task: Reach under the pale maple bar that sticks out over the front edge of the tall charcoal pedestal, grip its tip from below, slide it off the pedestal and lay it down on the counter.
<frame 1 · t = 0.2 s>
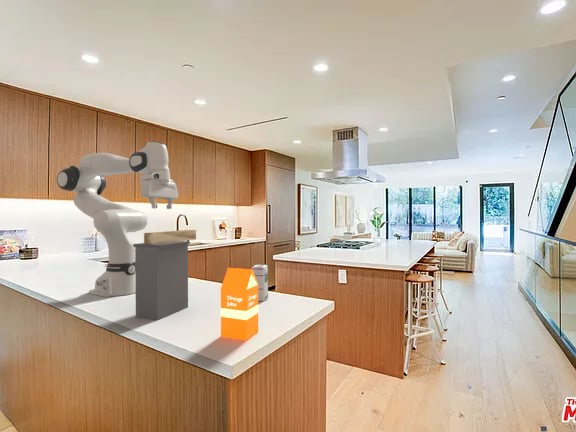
hand: (162, 208, 140), 39 cm above the table, tool pointing down, fingers open, 8 cm apart
pedestal: (163, 311, 118), on the table
orange juice: (239, 334, 96), on the table
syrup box: (259, 299, 136), on the table
maple bar: (172, 241, 123), point 26 cm above the table, touching pedestal
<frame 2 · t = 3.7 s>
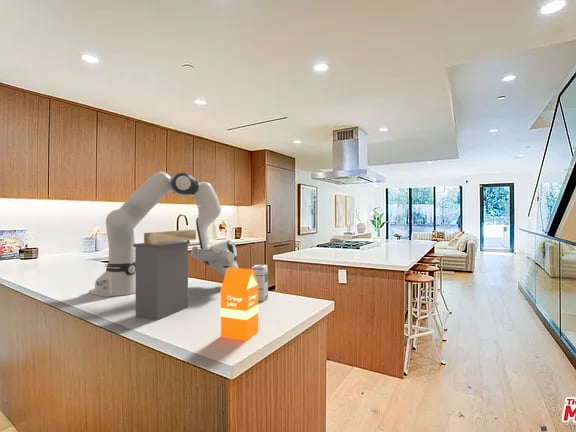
hand: (202, 248, 141), 22 cm above the table, tool pointing upward, fingers open, 8 cm apart
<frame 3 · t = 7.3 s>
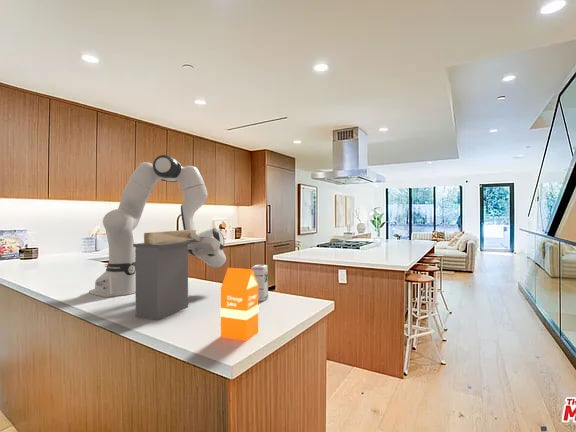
hand: (184, 234, 130), 28 cm above the table, tool pointing upward, fingers closed on maple bar, 4 cm apart
maple bar: (172, 241, 123), point 26 cm above the table, touching gripper, pedestal
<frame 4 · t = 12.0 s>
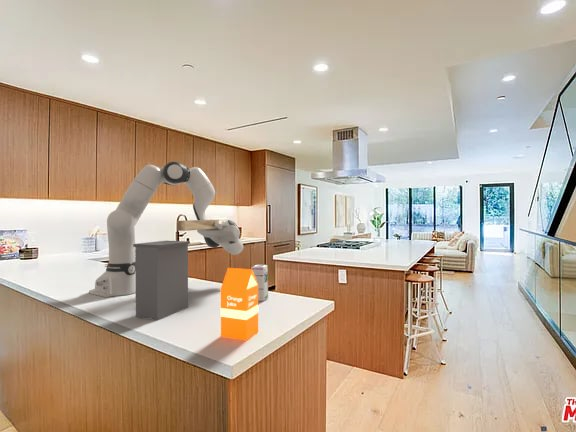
hand: (209, 223, 145), 33 cm above the table, tool pointing upward, fingers closed on maple bar, 4 cm apart
maple bar: (199, 229, 139), point 30 cm above the table, touching gripper
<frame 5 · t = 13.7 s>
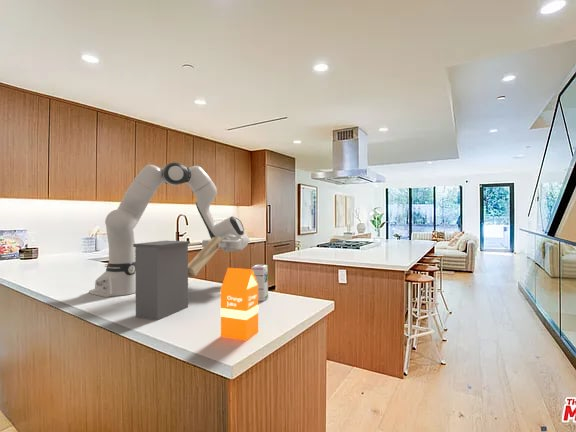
hand: (212, 245, 148), 22 cm above the table, tool horizontal, fingers closed on maple bar, 4 cm apart
maple bar: (206, 258, 143), point 16 cm above the table, tilted 30°, touching gripper
when the fingers open (12 cm above the table, at t = 16.5 s): maple bar drops 7 cm, on the table.
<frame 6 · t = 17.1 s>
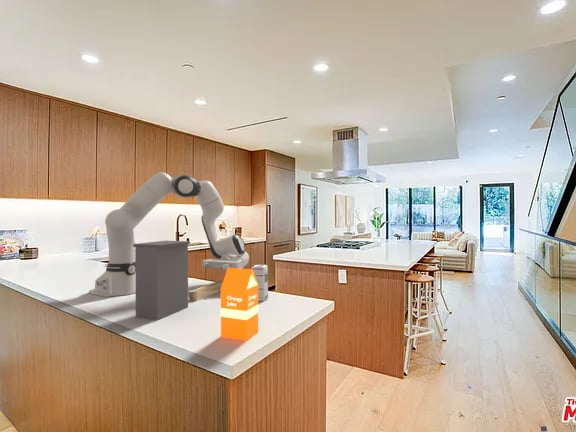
hand: (213, 266, 148), 12 cm above the table, tool horizontal, fingers open, 8 cm apart
maple bar: (209, 294, 145), on the table
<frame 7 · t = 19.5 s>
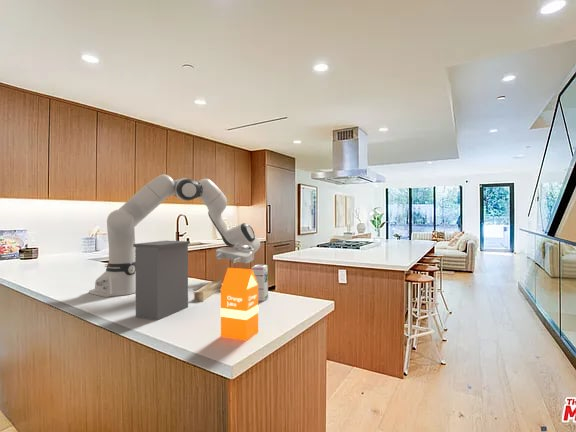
hand: (225, 259, 159), 14 cm above the table, tool horizontal, fingers open, 8 cm apart
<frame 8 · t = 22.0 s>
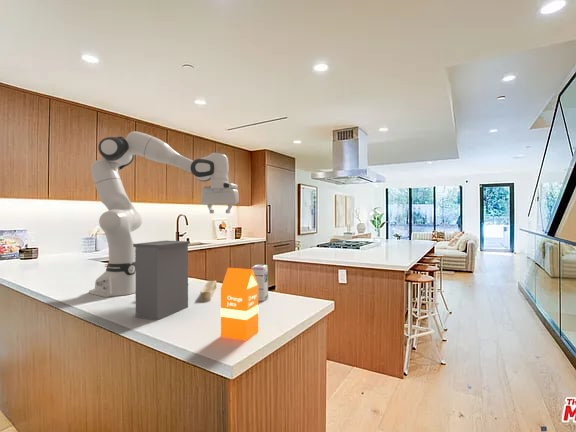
hand: (219, 213, 157), 37 cm above the table, tool pointing down, fingers open, 8 cm apart
at the end: maple bar inside the target area (3.1 cm from its centre), on the table; maple bar touching table; the gripper is holding nothing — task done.
